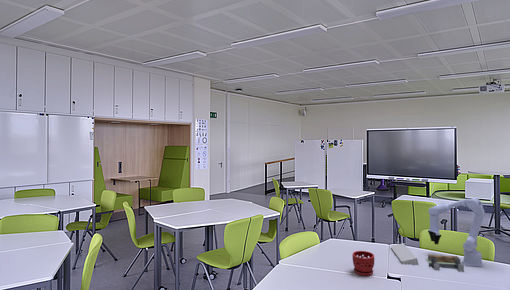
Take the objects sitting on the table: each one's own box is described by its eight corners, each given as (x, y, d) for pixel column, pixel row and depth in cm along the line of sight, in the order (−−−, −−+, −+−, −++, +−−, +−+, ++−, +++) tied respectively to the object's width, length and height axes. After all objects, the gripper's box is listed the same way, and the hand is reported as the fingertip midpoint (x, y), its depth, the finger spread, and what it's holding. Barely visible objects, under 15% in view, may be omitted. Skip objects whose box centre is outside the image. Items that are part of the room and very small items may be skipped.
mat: (457, 260, 221) (457, 260, 221) (462, 265, 212) (462, 264, 212) (425, 259, 225) (425, 258, 225) (429, 263, 216) (429, 263, 216)
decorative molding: (403, 268, 216) (419, 265, 214) (401, 261, 217) (416, 258, 215) (392, 252, 250) (405, 249, 248) (390, 246, 250) (403, 243, 248)
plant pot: (348, 270, 206) (348, 252, 206) (365, 267, 210) (364, 249, 211) (361, 278, 194) (361, 258, 194) (379, 275, 198) (379, 255, 198)
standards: (462, 268, 207) (462, 259, 207) (466, 271, 201) (466, 262, 202) (428, 266, 211) (428, 257, 212) (431, 269, 206) (431, 260, 206)
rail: (457, 261, 218) (457, 256, 219) (459, 263, 215) (459, 257, 215) (428, 259, 222) (428, 254, 222) (429, 261, 219) (429, 256, 219)
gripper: (425, 221, 238) (425, 239, 238) (431, 225, 224) (431, 245, 224) (435, 221, 236) (435, 240, 236) (442, 226, 222) (442, 246, 222)
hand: (434, 242), depth 230 cm, fingers open, 7 cm apart
